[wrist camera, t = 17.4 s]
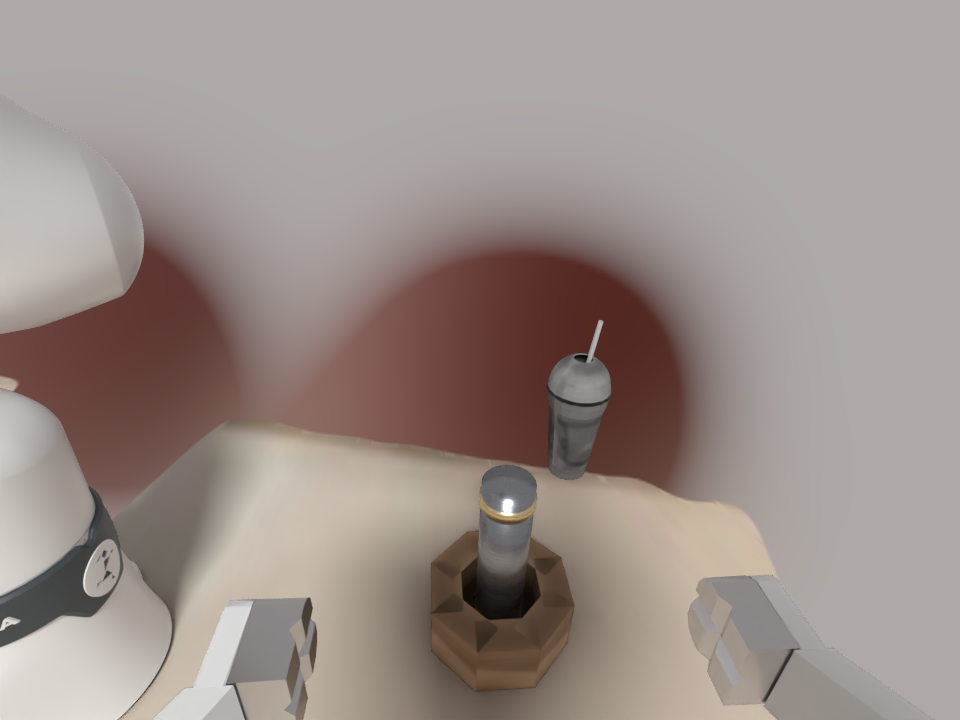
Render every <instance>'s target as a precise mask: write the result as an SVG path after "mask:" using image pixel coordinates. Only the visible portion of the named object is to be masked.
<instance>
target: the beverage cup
mask: <svg viewBox="0 0 960 720" xmlns="http://www.w3.org/2000/svg"><path fill="white" fill-rule="evenodd" d="M602 325H603V321H601V320H599V321H598V325H597V328H596V332H595V335H594V338H593V341H592V344H591V348H590V351H589V354H583V353H577V354H572V355H569V356H567V357H565V358H563V359H562V360H561V361H559V363H557V365H556V366H555V367H554V368H553V370H552V372H551V375H550V379H549V380H548V383H547V389H548V401H549V438H548V461H549V464H548V467H549V470H550V471H551V472H552V474H554V475H555V476H557V477H559V478H562V479H567V480H574V479H578V478H580V477H581V476H582V475H583V474H584V472H585V468H586V466H587V463H588V460H589V457H590V454H591V451H592V447H593V444H594V441H595V437H596V434H597V430H598V427H599V423H600V420H601V417H602V414H603V412H604V410H605V408H606V406H607V404H608V400H609V399H610V397H611V381H610V376H609V373H608V371H607V369H606V368H605V366H604V365H603V363H601V362H600V361H599V360H598V359H597V358H595V357H593V354H594V351H595V348H596V344H597V341H598V337H599V334H600V331H601V328H602Z"/></svg>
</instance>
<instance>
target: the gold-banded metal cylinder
mask: <svg viewBox="0 0 960 720" xmlns="http://www.w3.org/2000/svg"><path fill="white" fill-rule="evenodd" d="M536 489H537V484H536V480H535V478H534V477H533V476H532V474H531V473H529V472H528V471H527V470H525V469H523V468H520V467H517V466H513V465H501V466H496V467H494V468H492V469H490V470H488V471H487V472H486V473H485V474H484V476H483V478H482V486H481V489H480V500H479V505H480V524H479V542H478V560H477V578H476V596H475V610H476V611H478V612H479V613H480V614H481V615H483V616H484V617H485V618H486V619H488V620H499V619H518V618H521V610H522V602H523V594H524V586H525V577H526V569H527V561H528V553H529V545H530V537H531V529H532V521H533V514H534V512H535V508H536V500H537V494H536Z"/></svg>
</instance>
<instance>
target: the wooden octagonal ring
mask: <svg viewBox="0 0 960 720" xmlns="http://www.w3.org/2000/svg"><path fill="white" fill-rule="evenodd" d="M478 542H479V531H470V532H467V533H465V534H464V535H463V536H462V537H461V538H460V539H459V540H457V541H456V542H455V543H454V544H453V545H452V546H450V547H449V548H448V549H447V550H446V551H445V552H444V553H442V554H441V555H440V556H439V557H438V558H437V559H435V560H434V561H433V562H432V563H431V601H432V612H431V651H432V652H433V653H434V654H435V655H436V656H437V657H438V658H439V659H440V660H442V661H443V662H444V663H445V664H446V665H447V666H448V667H449V668H450V669H451V670H452V671H454V672H455V673H456V674H457V675H458V676H459V677H460V678H461V679H462V680H463V681H464V682H466V683H467V684H468V685H469V686H470V687H471V688H472V689H473V690H474V691H486V690H501V689H516V688H531V687H534V688H535V687H536V685H537V684H538V682H539V681H540V680H541V678H542V677H543V675H544V674H545V673H546V671H547V670H548V669H549V667H550V666H551V665H552V663H553V662H554V660H555V659H556V658H557V656H558V655H559V654H560V652H561V651H562V649H563V648H564V647H565V645H566V644H567V640H568V635H569V630H570V625H571V620H572V615H573V610H574V603H573V599H572V596H571V592H570V588H569V585H568V581H567V577H566V574H565V570H564V566H563V563H562V559H561V557H559V556H558V555H556V554H555V553H553V552H552V551H550V550H549V549H547V548H546V547H544V546H542V545H541V544H539V543H538V542H536V541H535V540H533V539H532V538H530V545H529V553H528V561H527V569H526V577H525V586H524V594H523V601H524V602H525V603H527V604H528V605H529V606H530V610H529V611H528V612H527V613H526V614H525V615H524V617H523V618H518V619H499V620H488V619H486V618H485V617H484V616H483V615H481V614H480V613H479V612H478V611H476V610H475V609H474V608H473V607H471V606H470V605H469V604H468V603H467V602H468V601H469V600H470V599H471V598H472V597H473V596H474V595H475V594H476V578H477V560H478Z"/></svg>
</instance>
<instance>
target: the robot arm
mask: <svg viewBox="0 0 960 720" xmlns="http://www.w3.org/2000/svg"><path fill="white" fill-rule="evenodd" d="M143 248H144V232H143V225H142V220H141V216H140V213H139V210H138V207H137V205H136V203H135V200H134V198H133V196H132V194H131V192H130V191H129V189H128V187H127V185H126V184H125V182H124V181H123V180H122V178H121V177H120V176H119V174H118V173H117V172H116V170H114V168H113V167H112V166H111V165H110V164H109V163H108V162H107V161H106V160H105V159H104V158H103V157H102V156H101V155H100V154H99V153H97V152H96V151H95V150H94V149H93V148H91V147H90V146H89V145H87V144H86V143H85V142H84V141H82V140H80V139H79V138H77V137H76V136H74V135H73V134H71V133H70V132H68V131H65V130H63V129H61V128H59V127H57V126H55V125H53V124H51V123H49V122H47V121H45V120H43V119H41V118H39V117H38V116H36V115H34V114H33V113H31V112H29V111H28V110H26V109H24V108H23V107H21V106H19V105H18V104H16V103H15V102H13V101H12V100H10V99H9V98H7V97H6V96H4V95H3V94H1V93H0V334H2V333H8V332H13V331H18V330H23V329H28V328H33V327H38V326H41V325H44V324H47V323H50V322H53V321H56V320H59V319H61V318H64V317H67V316H70V315H73V314H76V313H78V312H81V311H84V310H87V309H89V308H91V307H94V306H97V305H100V304H102V303H105V302H107V301H110V300H113V299H115V298H118V297H120V296H122V295H124V293H125V292H126V291H127V290H128V288H129V287H130V285H131V284H132V282H133V280H134V278H135V277H136V274H137V272H138V270H139V267H140V264H141V260H142V256H143ZM106 509H107V508H106V506H105V504H104V502H103V501H102V500H101V498H100V496H99V494H98V493H97V492H96V491H95V490H94V489H92V488H91V487H89V486H88V485H87V483H86V481H85V478H84V476H83V473H82V471H81V469H80V466H79V464H78V462H77V459H76V457H75V455H74V452H73V450H72V448H71V446H70V443H69V442H68V439H67V436H66V434H65V432H64V429H63V427H62V425H61V423H60V421H59V420H58V418H57V417H56V416H55V415H54V414H52V412H51V411H49V410H48V409H47V408H45V407H44V406H43V405H41V404H39V403H38V402H36V401H34V400H32V399H30V398H28V397H25V396H23V395H21V394H18V393H15V392H13V391H10V390H6V389H3V388H0V720H118V719H119V718H120V717H121V716H122V715H123V714H124V713H125V712H126V711H127V710H128V709H129V708H130V707H131V706H132V705H133V704H134V703H135V702H136V701H137V700H138V698H139V697H140V696H141V695H142V694H143V692H144V691H145V690H146V689H147V687H148V686H149V684H150V683H151V682H152V680H153V679H154V677H155V676H156V674H157V672H158V671H159V669H160V667H161V665H162V663H163V661H164V659H165V656H166V654H167V651H168V648H169V645H170V641H171V635H172V620H171V616H170V613H169V610H168V608H167V606H166V605H165V603H164V602H163V601H162V600H161V599H160V598H159V597H158V596H157V595H156V594H155V593H154V592H153V591H152V590H151V589H150V588H149V587H148V585H147V584H146V583H145V582H144V580H143V578H142V574H141V572H140V570H139V568H138V567H137V565H136V564H135V563H134V562H133V561H131V560H128V558H127V557H126V555H125V554H124V552H123V551H122V549H121V548H120V544H119V540H118V536H117V532H116V529H115V527H114V525H113V522H112V520H111V518H110V516H109V514H108V512H107V510H106ZM696 590H697V592H698V594H699V597H698V598H697V599H696V600H694V601H693V602H692V603H691V605H690V608H689V611H688V624H689V630H690V633H691V637H692V639H693V642H694V644H695V646H696V648H697V650H698V651H699V652H700V653H701V654H703V655H704V656H705V657H706V658H707V659H708V660H709V666H708V671H707V672H708V674H709V676H710V678H711V680H712V682H713V685H714V687H715V689H716V691H717V693H718V695H719V697H720V699H721V701H722V704H723V705H747V704H764V707H765V708H766V709H767V710H768V711H769V712H770V713H771V714H772V715H773V716H774V717H775V718H776V719H777V720H935V719H934V718H932V717H931V716H929V715H928V714H927V713H925V712H924V711H922V710H921V709H919V708H918V707H917V706H915V705H914V704H912V703H911V702H910V701H908V700H907V699H905V698H904V697H902V696H901V695H900V694H898V693H897V692H895V691H894V690H893V689H891V688H890V687H888V686H887V685H885V684H884V683H882V682H881V681H880V680H878V679H877V678H875V677H874V676H873V675H871V674H870V673H868V672H867V671H866V670H864V669H863V668H861V667H860V666H858V665H857V664H855V663H854V662H853V661H851V660H850V659H848V658H847V657H845V656H844V655H843V654H841V653H840V652H839V651H837V650H836V649H834V648H826V647H825V645H824V644H823V642H822V641H821V640H820V638H819V637H818V636H817V634H816V633H815V631H814V630H813V628H812V627H811V626H810V624H809V623H808V621H807V620H806V618H805V617H804V615H803V614H802V613H801V611H800V610H799V608H798V607H797V606H796V604H795V603H794V601H793V600H792V598H791V597H790V596H789V594H788V593H787V591H786V590H785V589H784V587H783V586H782V584H781V583H780V581H779V580H778V579H777V578H775V577H774V576H773V575H757V576H746V575H744V576H729V577H713V578H703V579H702V580H700V581H699V583H698V586H697V588H696ZM312 609H313V607H312V603H311V599H310V598H282V599H246V600H230V601H229V603H228V604H227V605H226V607H225V608H224V610H223V612H222V615H221V617H220V620H219V622H218V625H217V627H216V630H215V633H214V635H213V638H212V640H211V643H210V645H209V648H208V650H207V653H206V655H205V658H204V660H203V663H202V665H201V668H200V670H199V673H198V676H197V678H196V681H195V683H194V686H193V687H189V688H184V689H183V690H182V691H181V692H180V693H179V694H178V695H177V696H176V697H175V698H174V699H173V700H172V701H171V702H170V703H169V704H168V705H167V706H166V707H165V708H164V709H163V710H162V711H160V712H159V713H158V714H157V715H156V716H155V717H154V718H153V719H152V720H303V718H304V713H305V709H306V704H307V699H308V697H307V692H306V687H305V682H306V681H307V679H308V678H309V677H310V676H311V675H312V674H313V669H314V663H315V658H316V647H317V630H316V624H315V622H314V621H312V620H311V619H310V618H311V614H312Z"/></svg>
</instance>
